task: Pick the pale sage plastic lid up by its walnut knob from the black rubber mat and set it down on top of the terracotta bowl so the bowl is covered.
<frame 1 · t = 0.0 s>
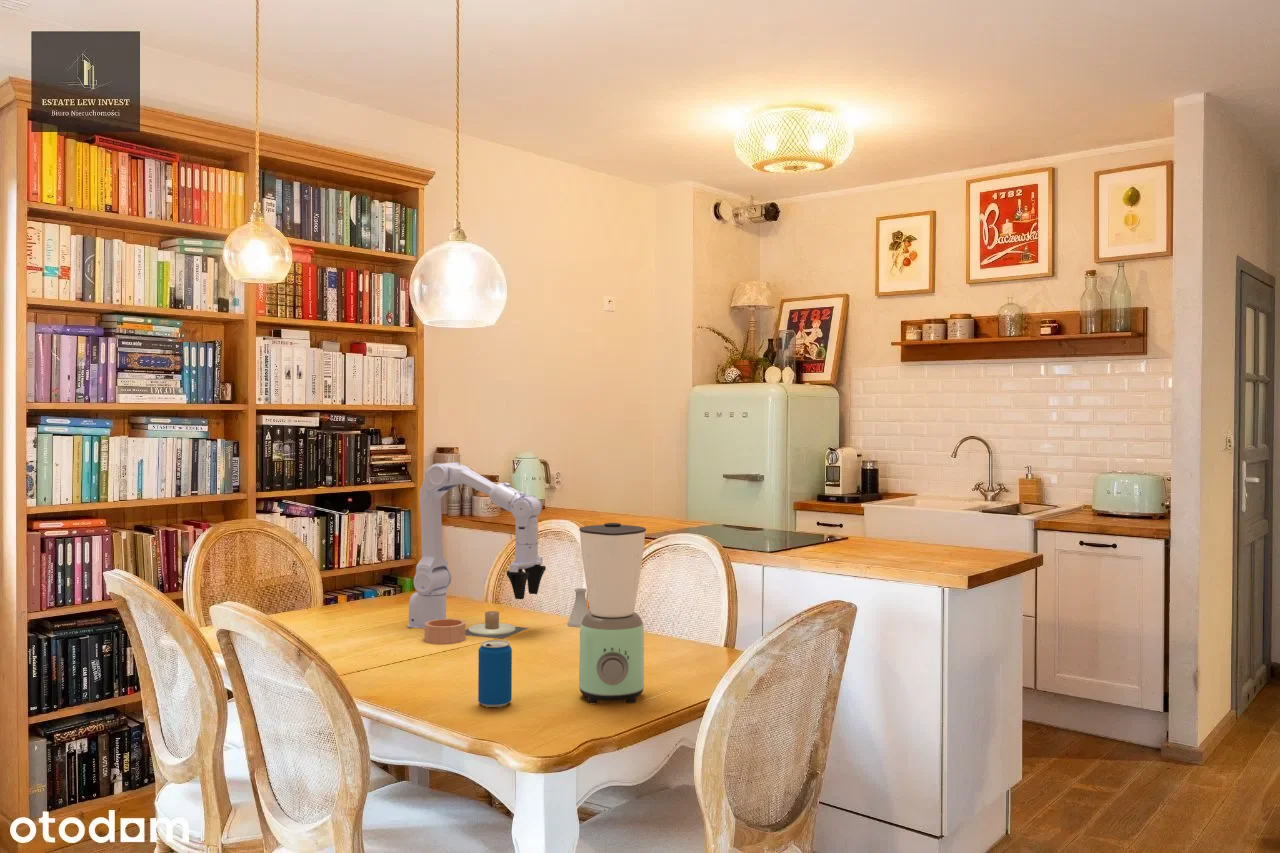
hand: (526, 596, 255), 10 cm above the table, fingers open, 7 cm apart
lid: (492, 630, 259), resting on mat
green blender: (611, 696, 202), on the table
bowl: (445, 640, 249), on the table
beverage can: (494, 705, 195), on the table
mat: (491, 632, 259), on the table
flask: (580, 626, 268), on the table
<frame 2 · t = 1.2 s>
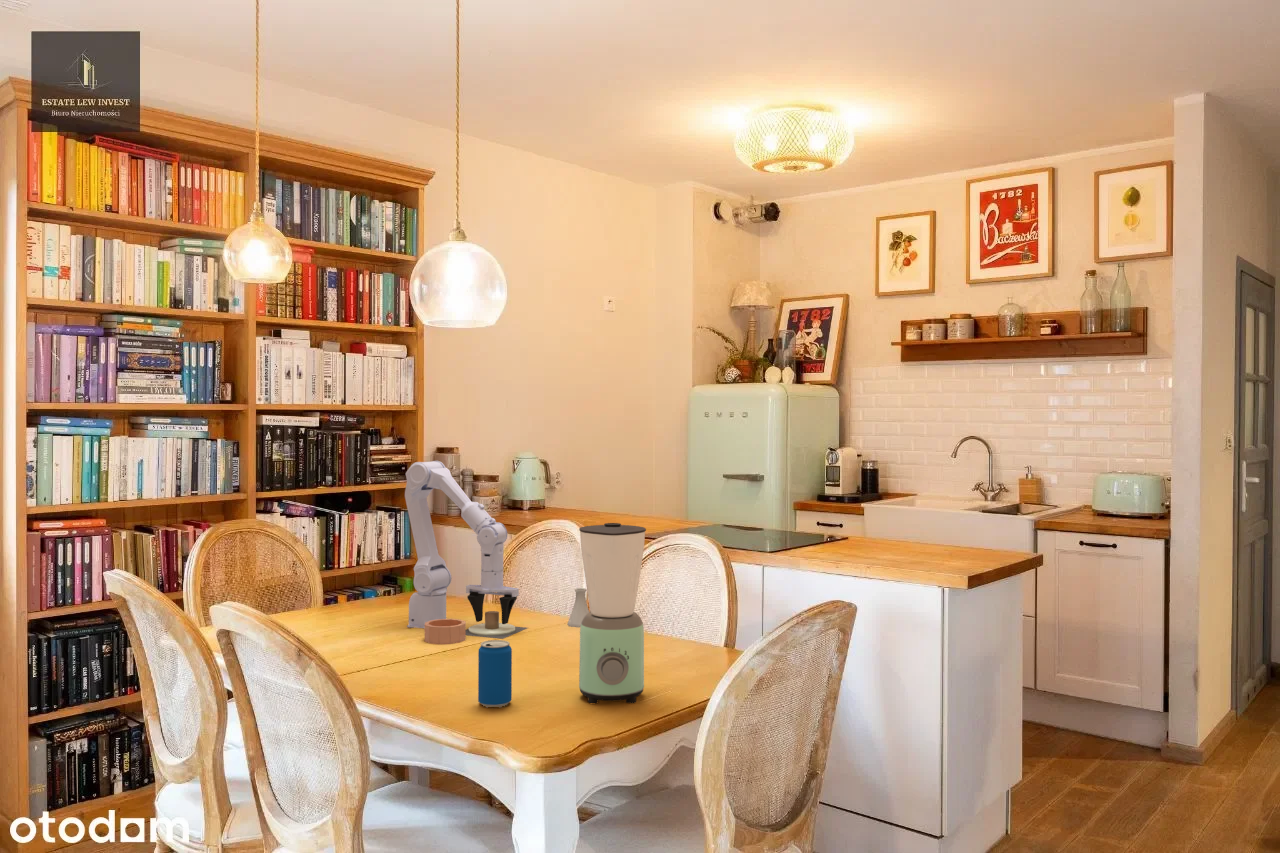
hand: (492, 622, 259), 3 cm above the table, fingers open, 7 cm apart
nothing on the table moved.
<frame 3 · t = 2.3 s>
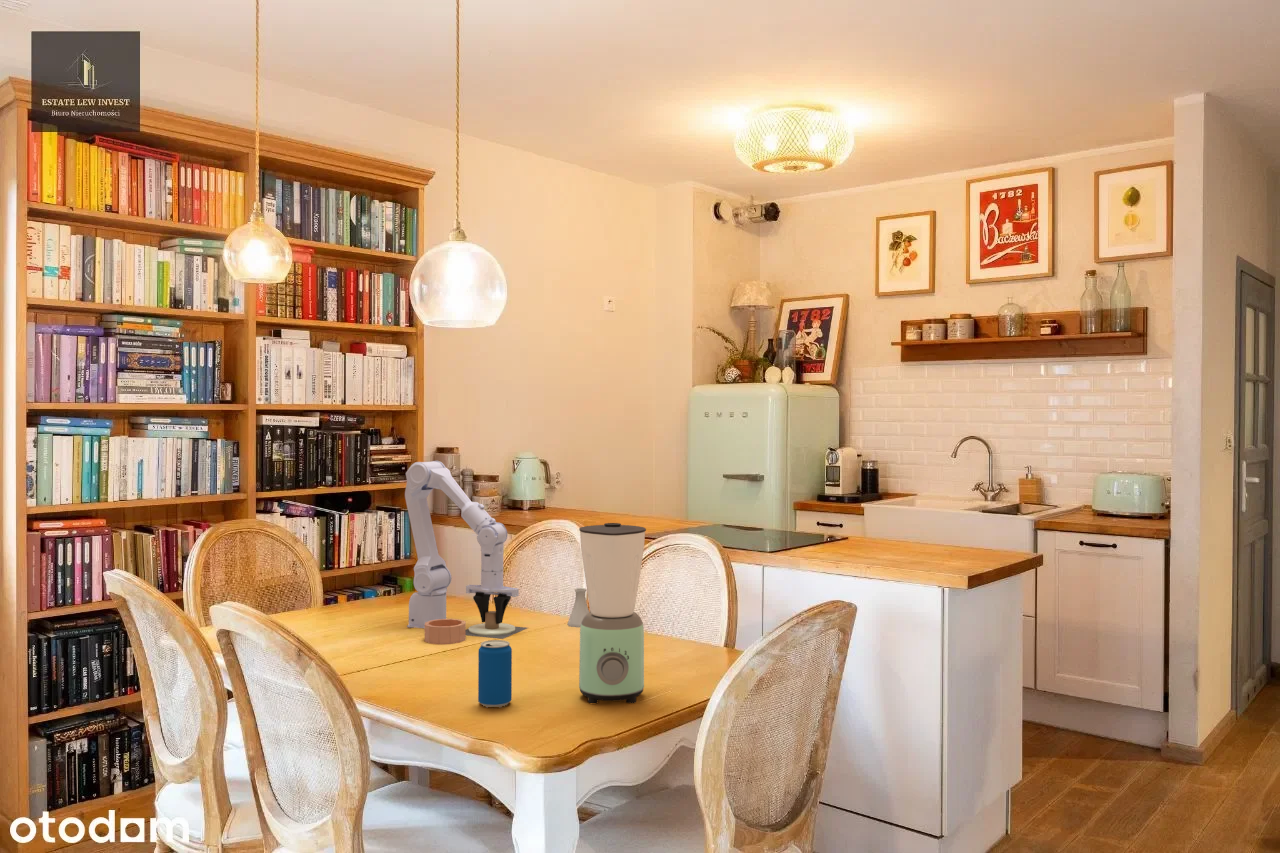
hand: (492, 622, 259), 3 cm above the table, fingers closed on lid, 4 cm apart
lid: (491, 630, 259), resting on mat, touching gripper
everything else where it was.
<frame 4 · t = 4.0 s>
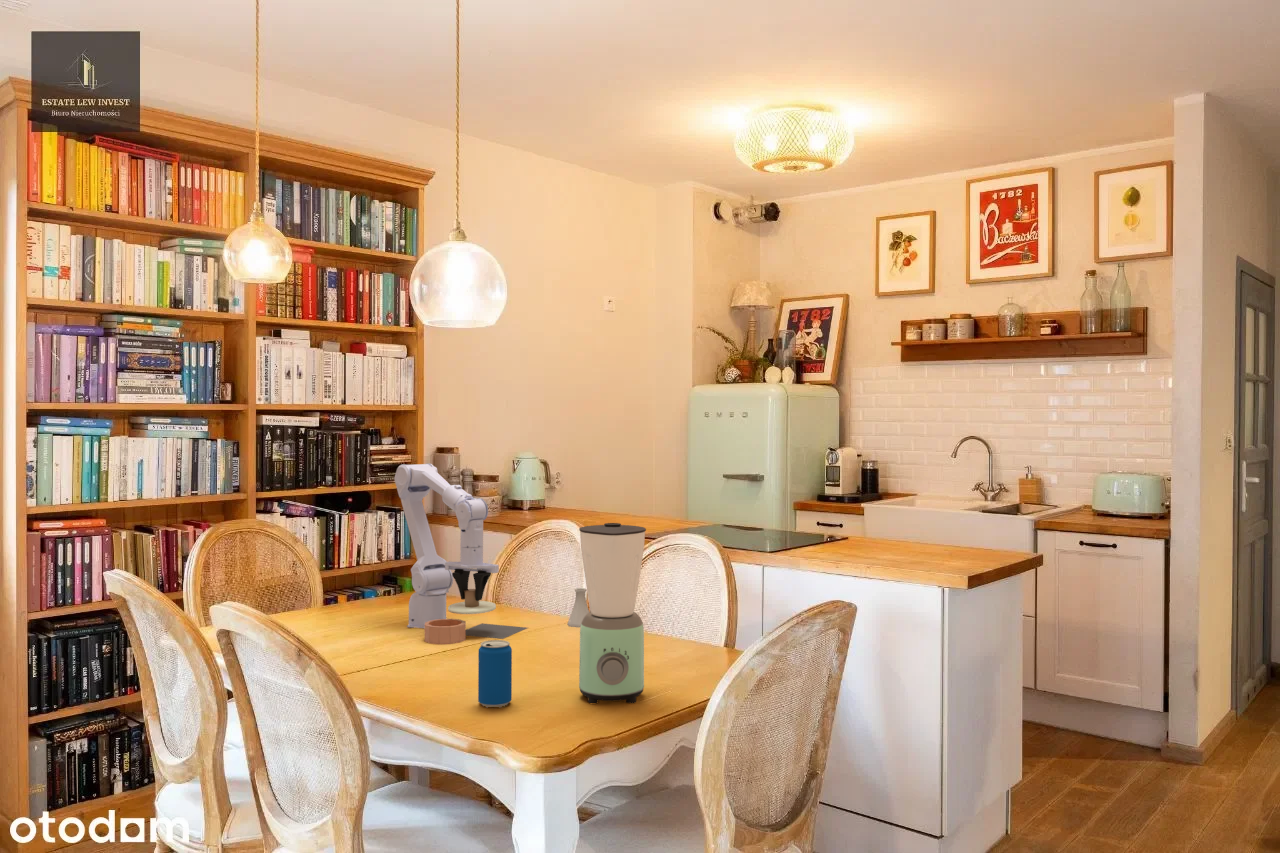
hand: (471, 599, 254), 9 cm above the table, fingers closed on lid, 4 cm apart
lid: (472, 608, 255), point 7 cm above the table, touching gripper
everything else where it was.
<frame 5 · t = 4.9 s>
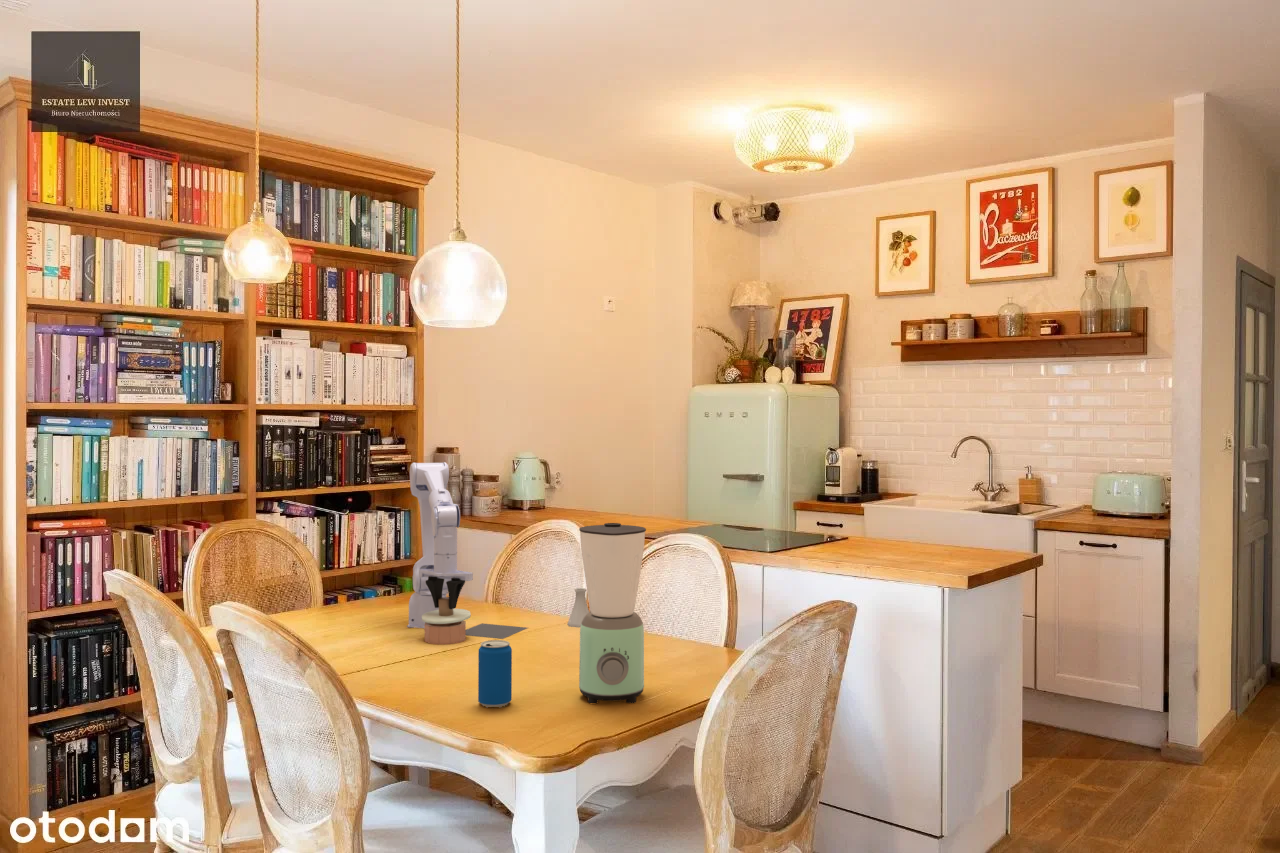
hand: (445, 607, 249), 8 cm above the table, fingers closed on lid, 4 cm apart
lid: (446, 617, 249), point 6 cm above the table, touching gripper
everything else where it was.
when the fingers open (8 cm above the table, at t = 5.7 s): lid stays where it is, resting on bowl.
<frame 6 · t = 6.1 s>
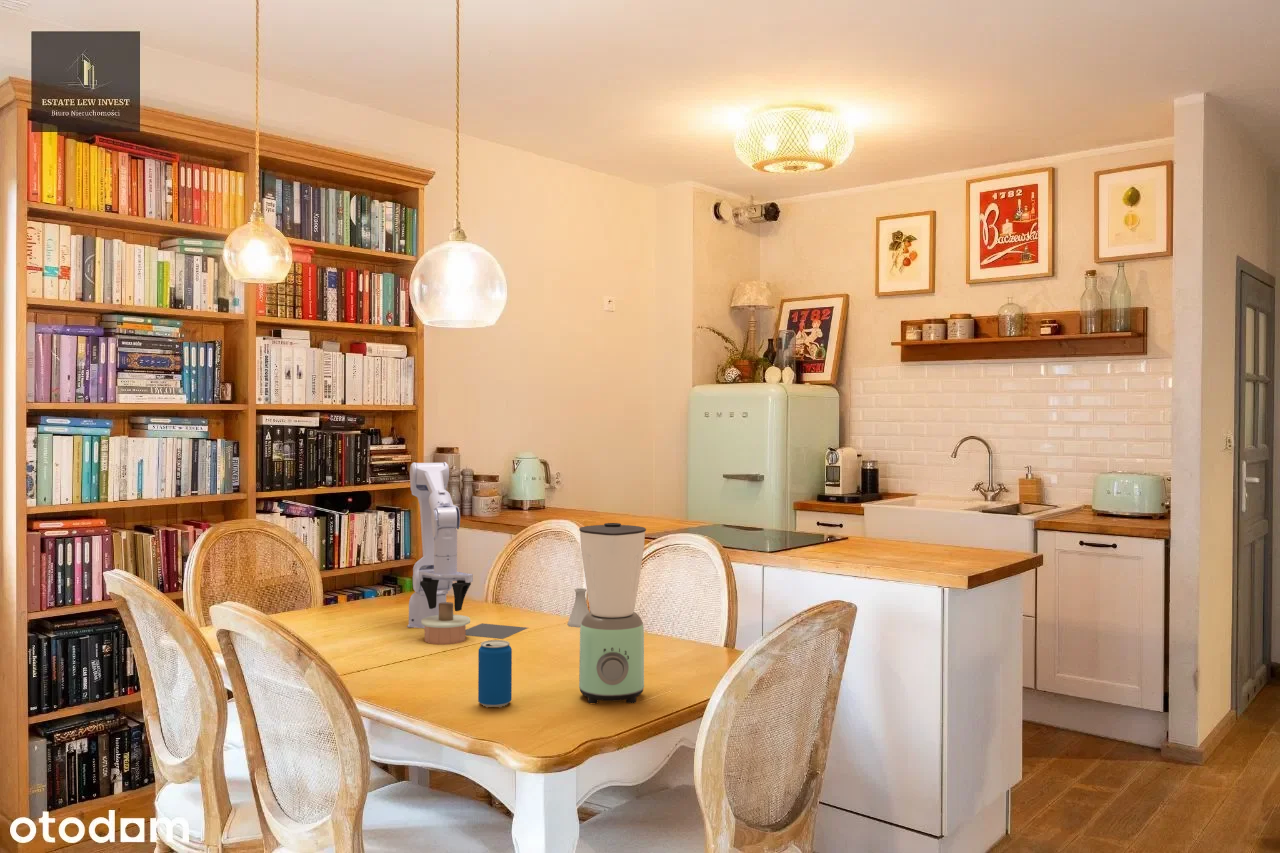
hand: (445, 609, 249), 8 cm above the table, fingers open, 7 cm apart
lid: (445, 622, 249), point 4 cm above the table, touching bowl
everything else where it was.
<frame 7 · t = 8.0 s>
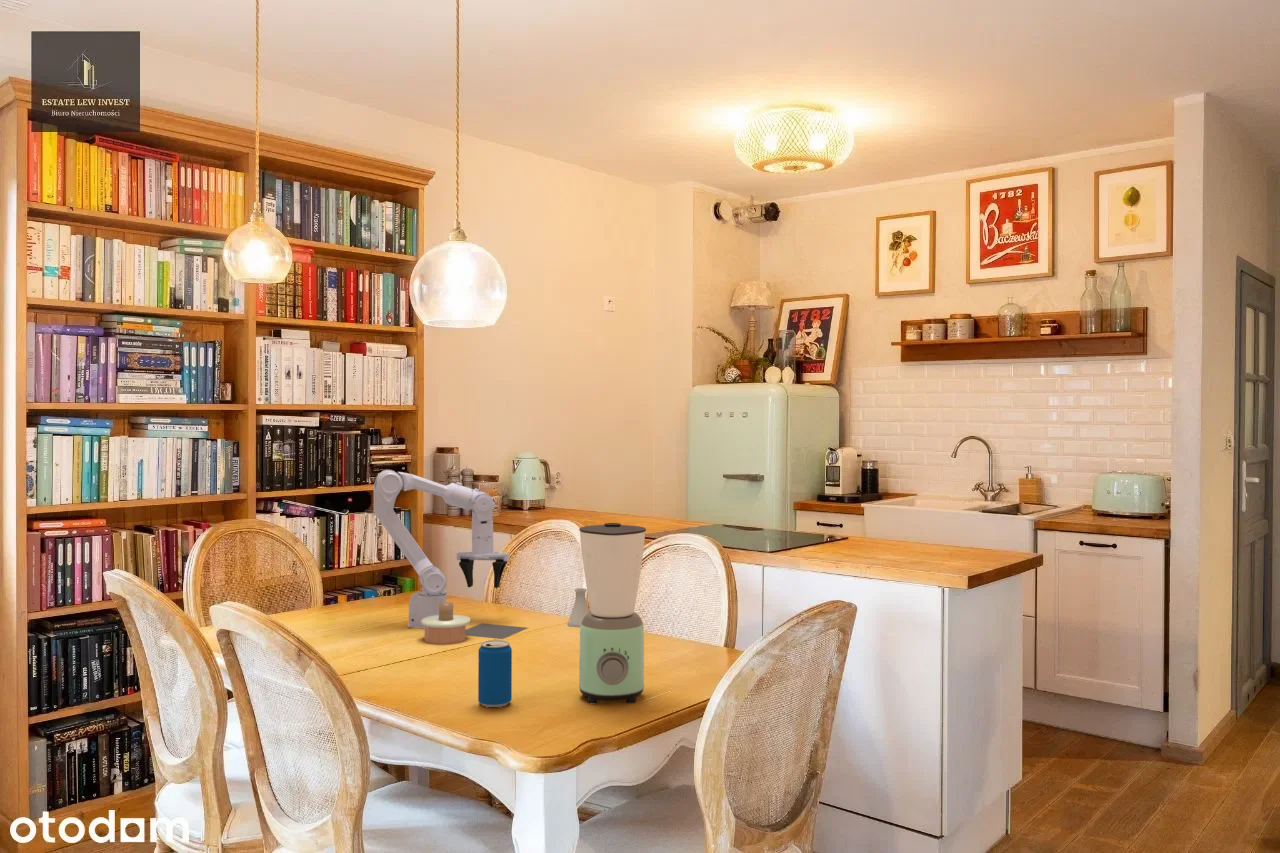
hand: (483, 586, 269), 10 cm above the table, fingers open, 7 cm apart
nothing on the table moved.
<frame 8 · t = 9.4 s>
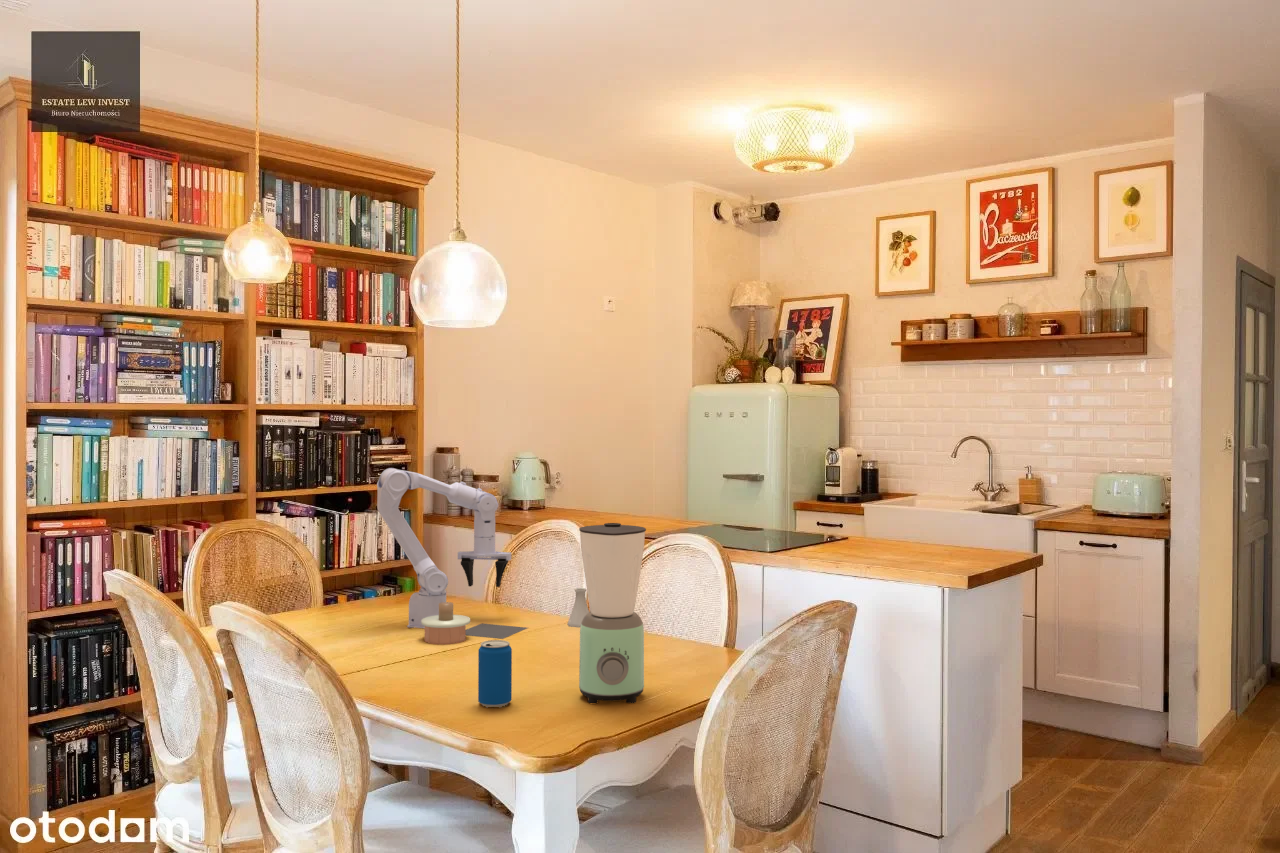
hand: (484, 586, 271), 10 cm above the table, fingers open, 7 cm apart
nothing on the table moved.
at the end: lid 0.4 cm from the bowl (horizontally); lid point 4.5 cm above the table; lid tilted 0° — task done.
